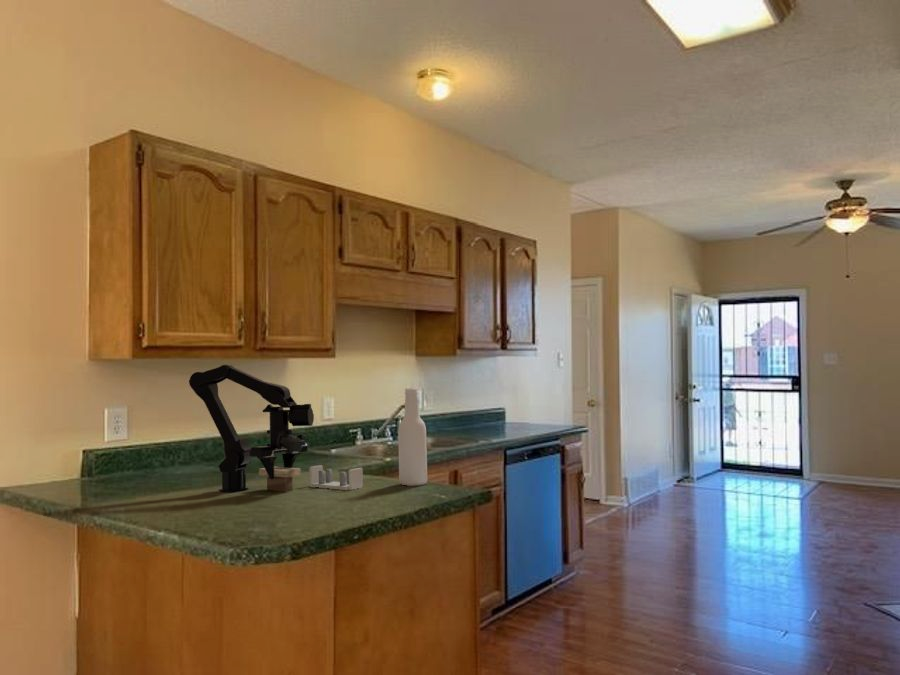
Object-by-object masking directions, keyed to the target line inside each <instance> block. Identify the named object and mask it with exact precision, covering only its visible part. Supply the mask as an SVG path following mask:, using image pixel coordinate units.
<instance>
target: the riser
mask: <svg viewBox="0 0 900 675" xmlns="http://www.w3.org/2000/svg"><path fill="white" fill-rule="evenodd" d="M266 491H277V492H285V493H286V492H291V491H293V476H292V477H274V478H273V479H270V478H269V476H266Z"/></svg>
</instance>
